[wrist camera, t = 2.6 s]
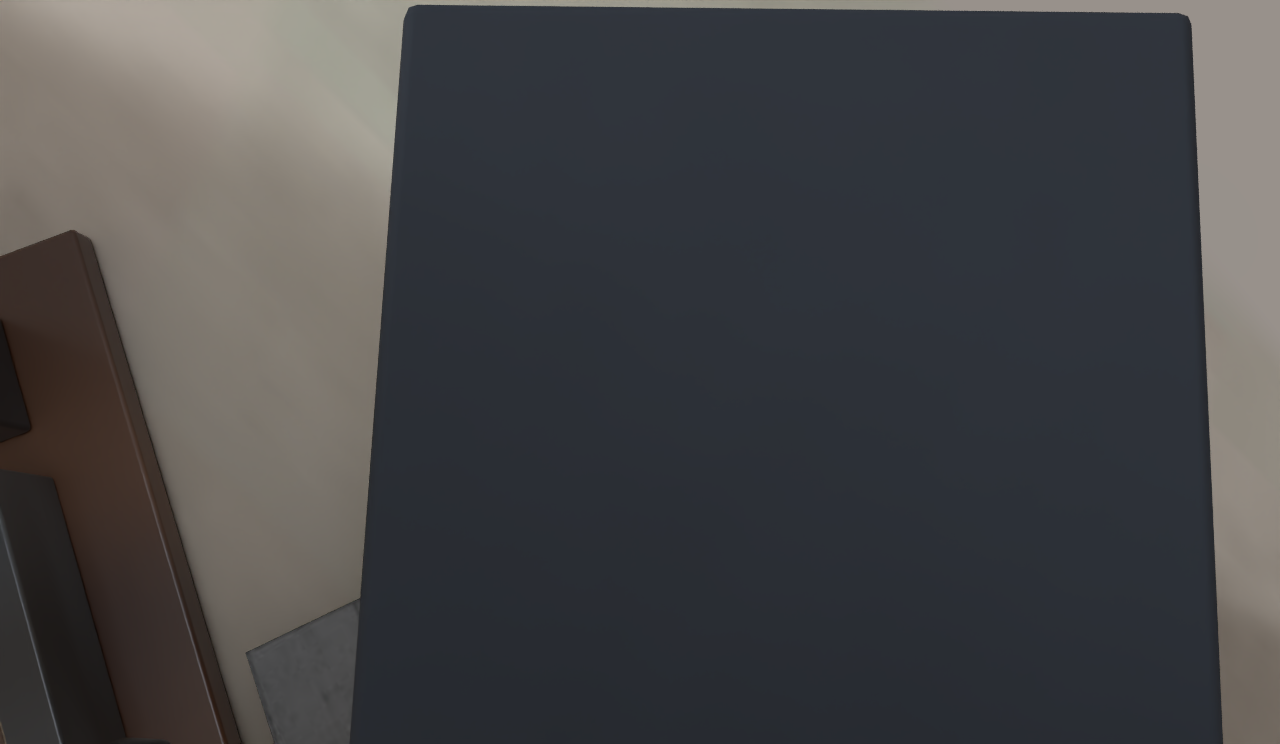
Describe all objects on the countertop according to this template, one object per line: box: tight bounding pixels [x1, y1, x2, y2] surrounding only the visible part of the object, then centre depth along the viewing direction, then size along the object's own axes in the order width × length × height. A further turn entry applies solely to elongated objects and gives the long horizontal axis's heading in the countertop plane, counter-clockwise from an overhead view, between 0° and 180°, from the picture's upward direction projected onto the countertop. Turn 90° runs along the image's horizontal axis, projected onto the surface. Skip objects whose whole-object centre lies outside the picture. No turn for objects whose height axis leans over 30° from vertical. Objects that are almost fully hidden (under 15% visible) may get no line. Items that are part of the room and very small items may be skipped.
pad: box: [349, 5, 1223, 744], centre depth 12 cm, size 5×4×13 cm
